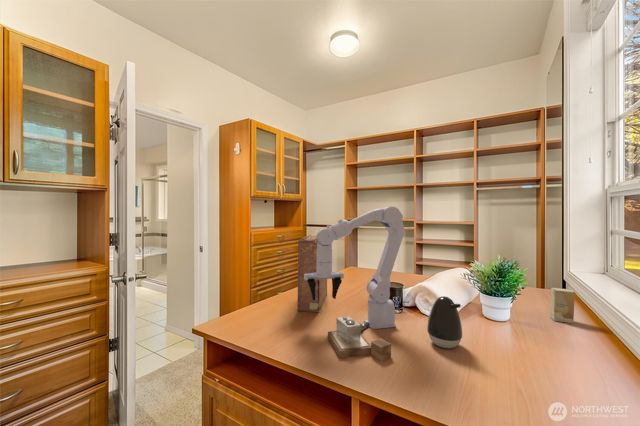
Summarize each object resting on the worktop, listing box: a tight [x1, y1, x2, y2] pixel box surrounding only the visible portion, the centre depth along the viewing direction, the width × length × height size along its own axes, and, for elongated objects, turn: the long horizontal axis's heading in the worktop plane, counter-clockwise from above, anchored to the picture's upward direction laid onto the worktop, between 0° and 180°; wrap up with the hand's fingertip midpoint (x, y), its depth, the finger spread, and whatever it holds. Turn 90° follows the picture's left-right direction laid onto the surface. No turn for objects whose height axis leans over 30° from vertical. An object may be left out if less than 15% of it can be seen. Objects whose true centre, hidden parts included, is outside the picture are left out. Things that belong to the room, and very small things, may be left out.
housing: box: [335, 315, 362, 344], centre depth 86 cm, size 4×8×6 cm, turn 23°
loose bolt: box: [358, 322, 370, 332], centre depth 97 cm, size 6×3×3 cm, turn 140°
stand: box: [327, 330, 371, 359], centre depth 85 cm, size 10×13×2 cm
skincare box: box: [549, 287, 576, 324], centre depth 107 cm, size 6×4×12 cm
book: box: [297, 234, 328, 313], centre depth 125 cm, size 25×9×30 cm, turn 171°
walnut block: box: [370, 338, 392, 362], centre depth 79 cm, size 4×4×4 cm
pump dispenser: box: [426, 295, 464, 349], centre depth 86 cm, size 10×10×15 cm
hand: (323, 298), depth 100 cm, fingers open, 7 cm apart
